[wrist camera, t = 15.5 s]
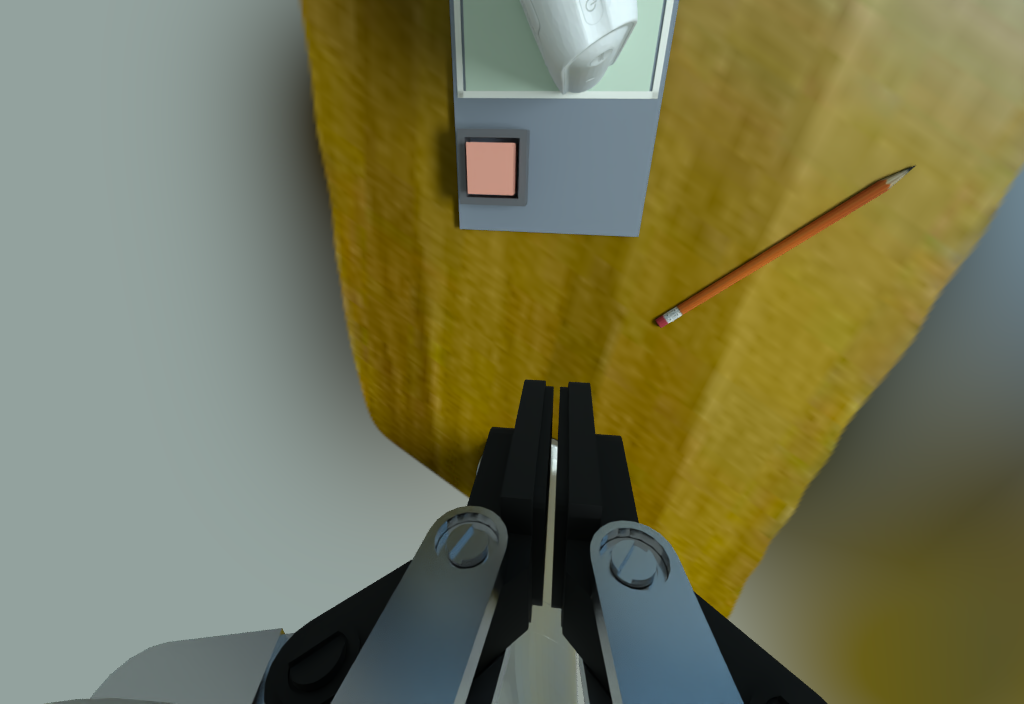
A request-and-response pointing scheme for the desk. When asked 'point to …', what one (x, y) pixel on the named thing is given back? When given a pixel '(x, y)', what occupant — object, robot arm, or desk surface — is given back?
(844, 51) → the desk surface
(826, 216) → the pencil
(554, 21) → the photo printer
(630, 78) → the activity board
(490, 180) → the button
